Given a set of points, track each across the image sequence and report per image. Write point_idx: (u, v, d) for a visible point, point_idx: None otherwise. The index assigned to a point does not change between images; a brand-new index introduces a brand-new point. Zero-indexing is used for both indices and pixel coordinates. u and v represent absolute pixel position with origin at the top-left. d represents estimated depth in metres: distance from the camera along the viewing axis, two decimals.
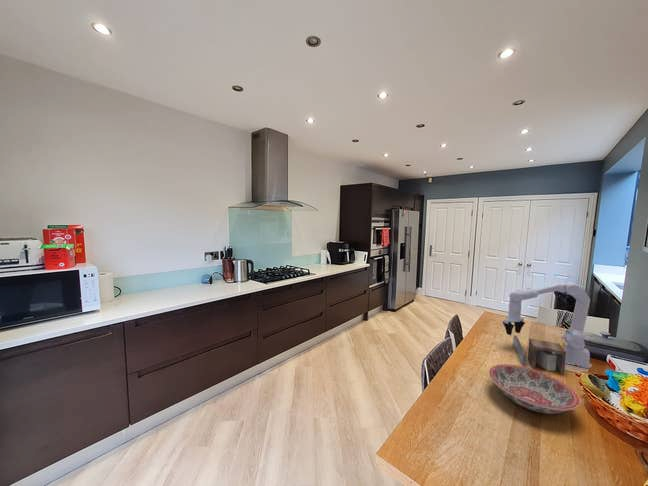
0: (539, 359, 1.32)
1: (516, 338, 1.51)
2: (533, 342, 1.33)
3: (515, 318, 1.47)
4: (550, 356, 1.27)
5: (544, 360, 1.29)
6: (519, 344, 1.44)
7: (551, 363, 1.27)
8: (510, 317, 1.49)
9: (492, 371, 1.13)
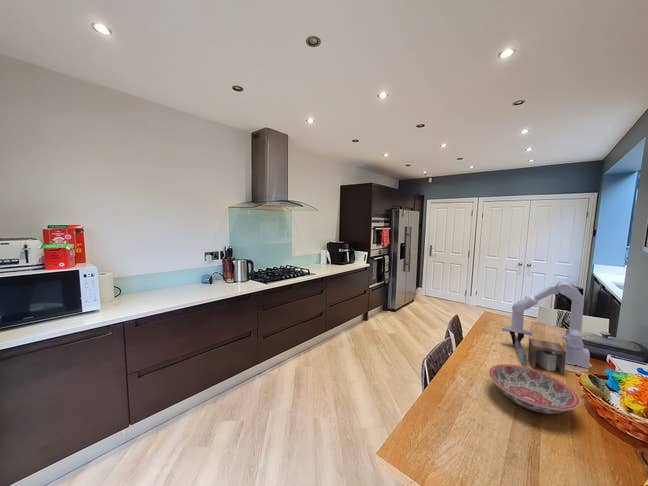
0: (539, 359, 1.32)
1: (516, 338, 1.51)
2: (533, 342, 1.33)
3: (513, 328, 1.51)
4: (550, 356, 1.27)
5: (544, 361, 1.29)
6: (519, 344, 1.44)
7: (551, 363, 1.27)
8: (511, 327, 1.53)
9: (492, 371, 1.13)
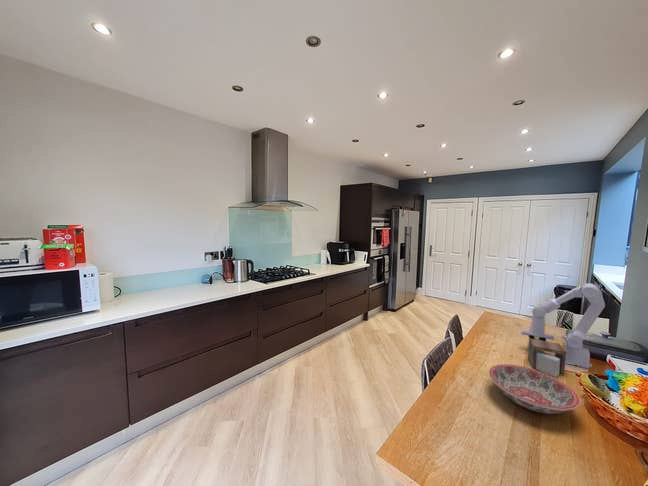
0: (543, 366, 1.26)
1: None
2: (533, 342, 1.33)
3: (533, 332, 1.45)
4: (557, 362, 1.22)
5: (550, 367, 1.23)
6: None
7: (557, 368, 1.22)
8: (531, 330, 1.48)
9: (492, 371, 1.13)
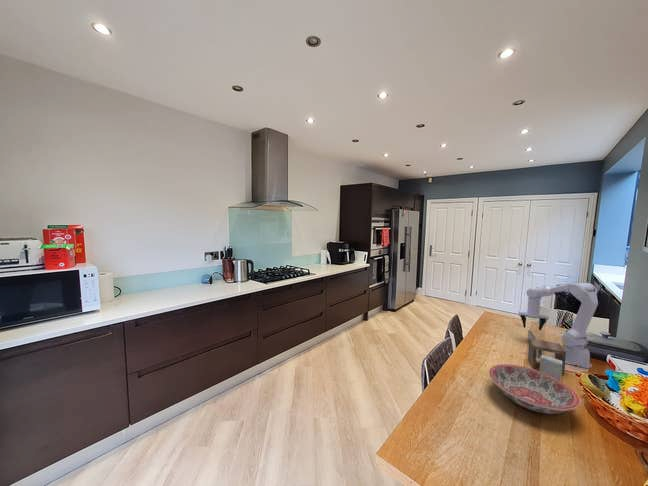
0: (547, 370, 1.23)
1: (531, 333, 1.59)
2: (533, 342, 1.33)
3: (529, 313, 1.55)
4: (561, 365, 1.19)
5: (555, 371, 1.20)
6: (534, 338, 1.51)
7: (561, 371, 1.20)
8: (527, 311, 1.58)
9: (492, 371, 1.13)
